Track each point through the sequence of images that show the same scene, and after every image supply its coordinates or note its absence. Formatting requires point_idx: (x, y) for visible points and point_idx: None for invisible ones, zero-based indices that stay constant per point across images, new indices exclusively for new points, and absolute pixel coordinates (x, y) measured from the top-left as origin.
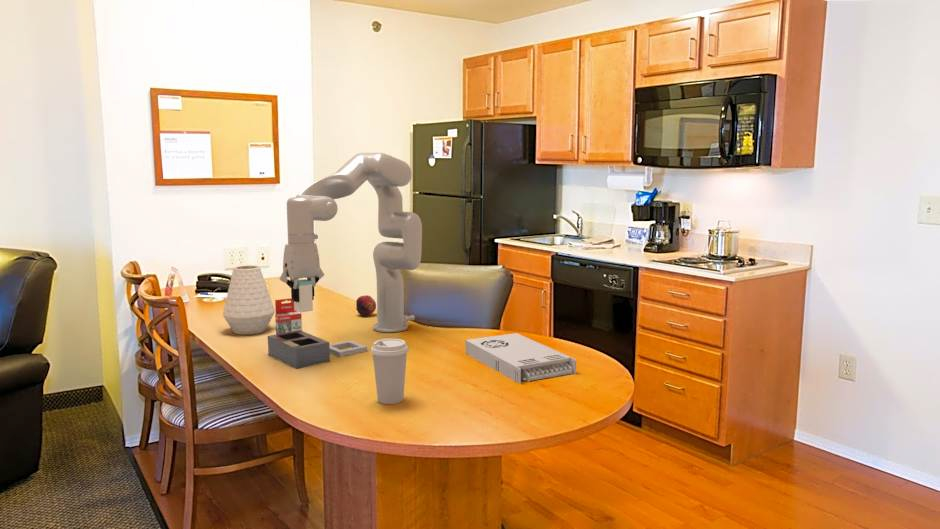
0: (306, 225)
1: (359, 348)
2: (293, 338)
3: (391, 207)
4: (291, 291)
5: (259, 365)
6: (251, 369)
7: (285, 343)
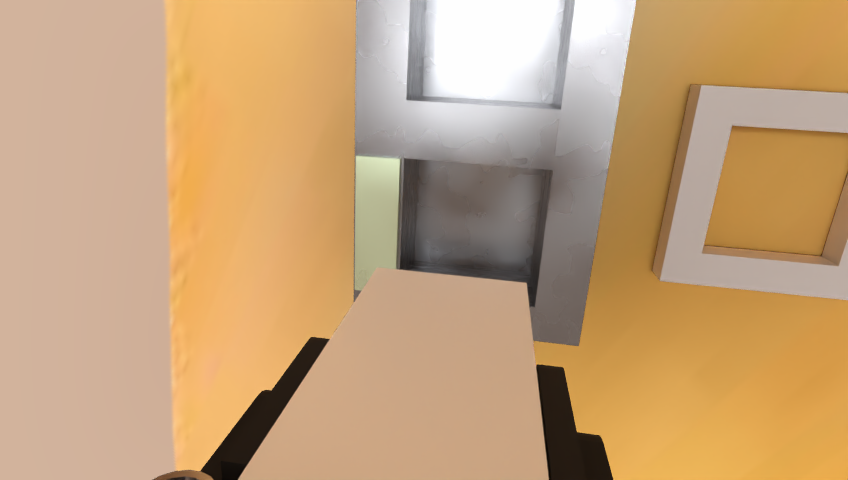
0: None
1: (803, 295)
2: None
3: None
4: (215, 460)
5: (268, 95)
6: (216, 129)
7: (355, 187)
